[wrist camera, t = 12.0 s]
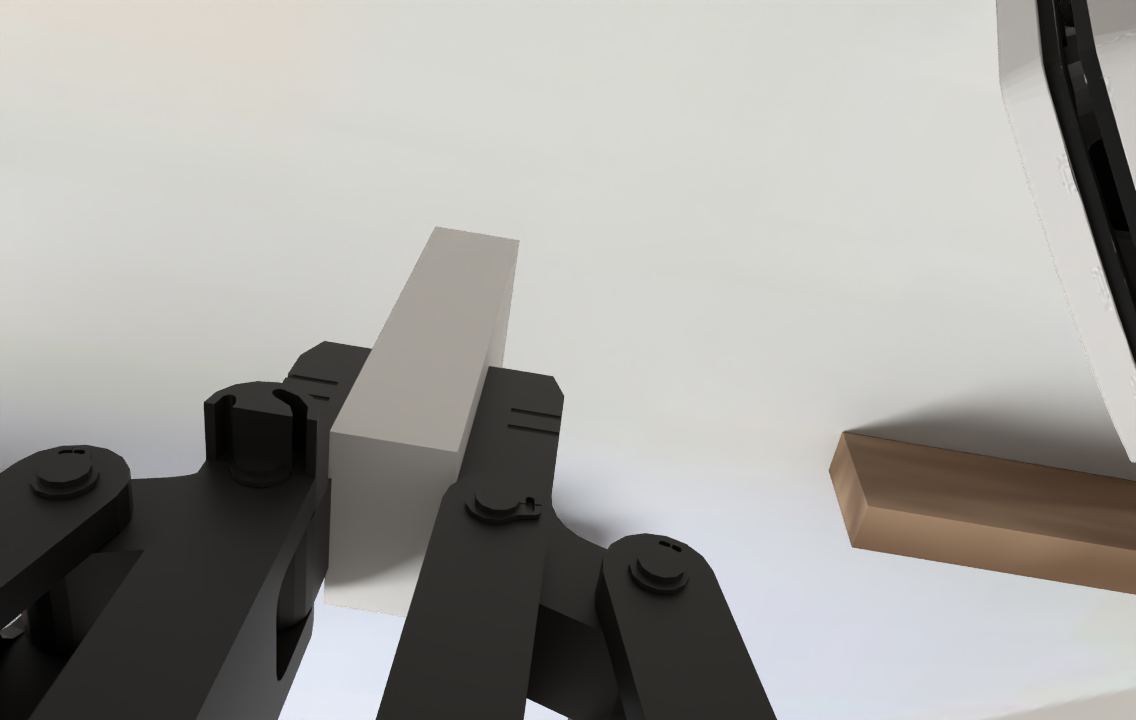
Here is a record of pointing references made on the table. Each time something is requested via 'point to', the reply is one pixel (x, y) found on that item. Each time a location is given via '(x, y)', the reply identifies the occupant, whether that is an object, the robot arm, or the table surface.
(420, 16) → the table surface
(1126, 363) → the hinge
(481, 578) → the robot arm
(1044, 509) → the frame
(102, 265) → the table surface
